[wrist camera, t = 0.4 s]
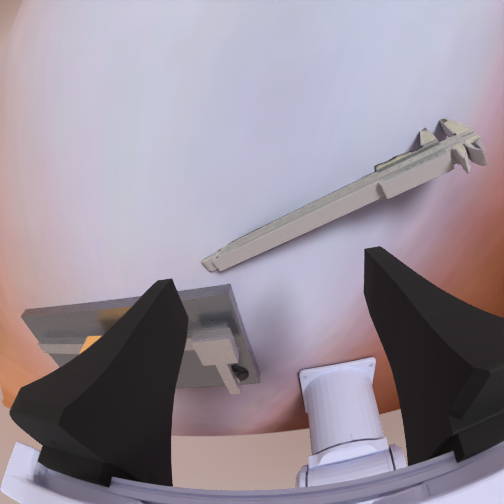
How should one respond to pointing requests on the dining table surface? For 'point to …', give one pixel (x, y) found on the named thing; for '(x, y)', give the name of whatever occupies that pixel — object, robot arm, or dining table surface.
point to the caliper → (362, 191)
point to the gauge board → (197, 344)
